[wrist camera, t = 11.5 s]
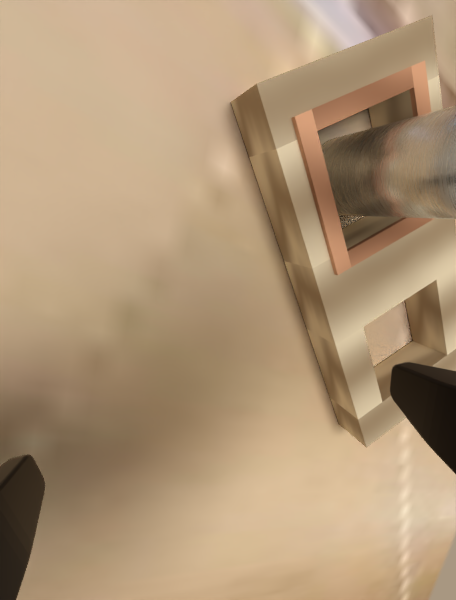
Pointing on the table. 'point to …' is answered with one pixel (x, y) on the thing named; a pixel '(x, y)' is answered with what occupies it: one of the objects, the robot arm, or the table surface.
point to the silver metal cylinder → (396, 168)
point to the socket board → (361, 234)
